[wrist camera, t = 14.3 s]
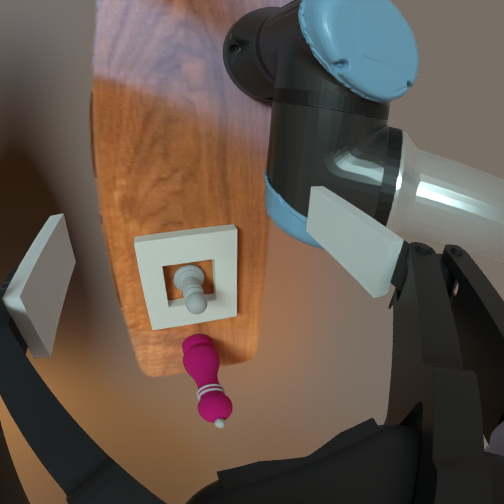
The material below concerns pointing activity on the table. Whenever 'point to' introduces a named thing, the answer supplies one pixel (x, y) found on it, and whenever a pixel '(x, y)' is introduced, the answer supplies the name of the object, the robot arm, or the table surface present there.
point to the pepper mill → (206, 379)
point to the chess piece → (191, 287)
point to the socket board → (184, 251)
